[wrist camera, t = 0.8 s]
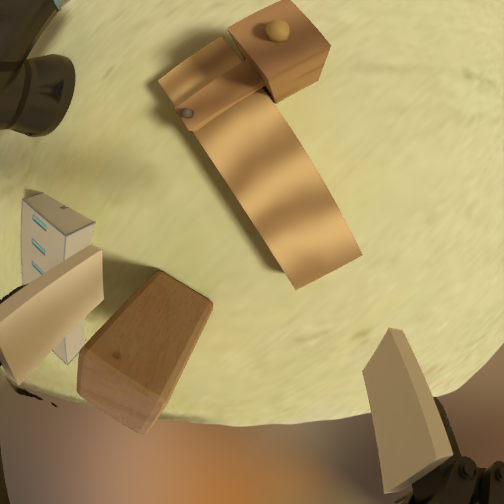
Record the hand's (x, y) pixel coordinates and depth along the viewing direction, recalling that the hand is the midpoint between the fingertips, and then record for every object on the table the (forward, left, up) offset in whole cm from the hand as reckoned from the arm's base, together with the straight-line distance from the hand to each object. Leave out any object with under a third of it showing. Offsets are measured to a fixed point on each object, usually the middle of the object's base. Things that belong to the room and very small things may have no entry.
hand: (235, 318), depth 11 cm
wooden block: (+6, -21, -24) cm, 33 cm away
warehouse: (-10, -41, -25) cm, 49 cm away
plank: (-5, +2, -24) cm, 25 cm away
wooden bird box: (-13, +6, -24) cm, 28 cm away
